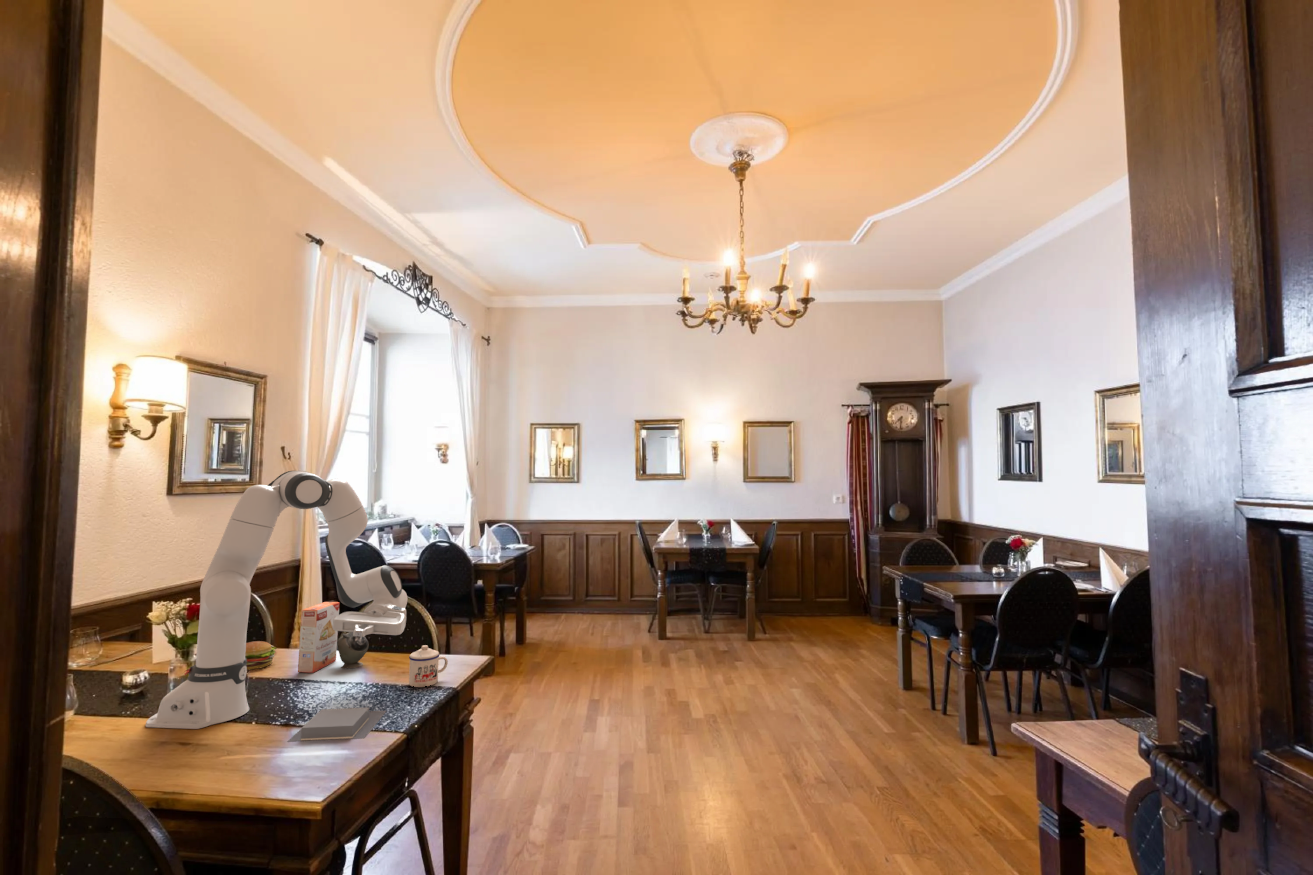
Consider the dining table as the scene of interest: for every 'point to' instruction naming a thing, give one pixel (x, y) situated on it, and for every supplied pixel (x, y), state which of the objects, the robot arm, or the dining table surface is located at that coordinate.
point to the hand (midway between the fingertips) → (358, 633)
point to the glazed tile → (335, 724)
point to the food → (258, 654)
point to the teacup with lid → (424, 667)
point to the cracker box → (317, 637)
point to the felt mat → (361, 734)
